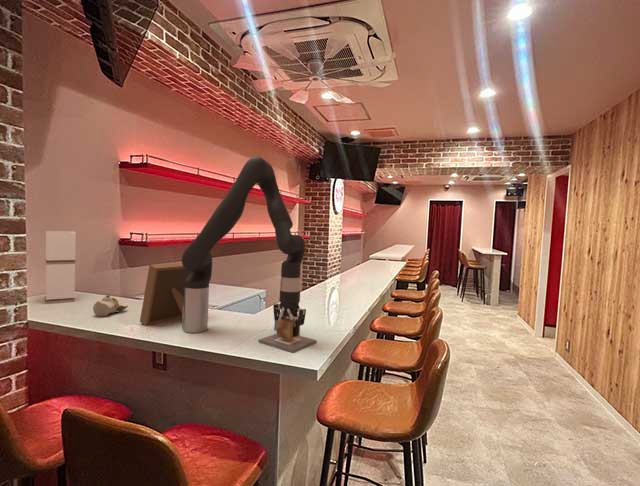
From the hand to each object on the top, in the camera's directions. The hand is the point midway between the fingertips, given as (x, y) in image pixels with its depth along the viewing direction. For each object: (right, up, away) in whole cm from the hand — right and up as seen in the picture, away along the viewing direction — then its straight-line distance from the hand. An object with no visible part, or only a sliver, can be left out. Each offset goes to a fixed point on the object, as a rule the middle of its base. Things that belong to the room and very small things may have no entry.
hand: (288, 334), depth 127 cm
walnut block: (0, -1, 0) cm, 1 cm away
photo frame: (-51, 0, +20) cm, 54 cm away
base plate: (0, -3, 0) cm, 3 cm away
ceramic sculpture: (-84, +2, +28) cm, 88 cm away
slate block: (-3, -2, +15) cm, 16 cm away
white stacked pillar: (-120, +4, +48) cm, 129 cm away
